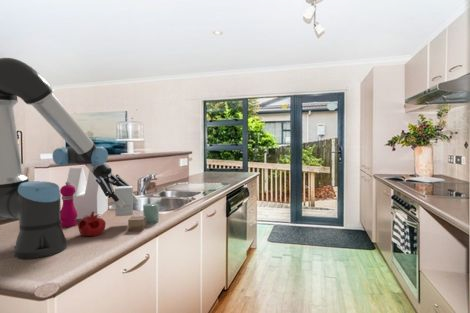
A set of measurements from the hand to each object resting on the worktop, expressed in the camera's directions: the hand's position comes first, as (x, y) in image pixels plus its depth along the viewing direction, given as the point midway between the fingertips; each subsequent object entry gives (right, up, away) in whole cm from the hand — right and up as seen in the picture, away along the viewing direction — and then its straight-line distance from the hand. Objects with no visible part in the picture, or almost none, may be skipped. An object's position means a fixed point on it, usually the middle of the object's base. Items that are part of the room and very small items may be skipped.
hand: (130, 203), depth 127 cm
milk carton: (-31, -9, +21) cm, 39 cm away
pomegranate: (-11, -10, -13) cm, 20 cm away
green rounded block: (+8, -10, +6) cm, 14 cm away
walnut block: (+5, -10, -6) cm, 13 cm away
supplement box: (-3, -5, +1) cm, 6 cm away
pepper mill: (-28, -10, 0) cm, 30 cm away
